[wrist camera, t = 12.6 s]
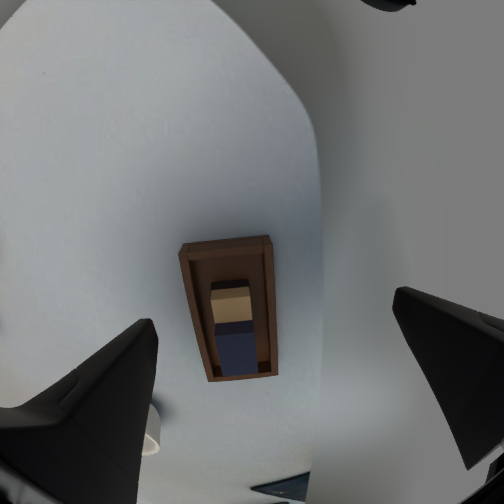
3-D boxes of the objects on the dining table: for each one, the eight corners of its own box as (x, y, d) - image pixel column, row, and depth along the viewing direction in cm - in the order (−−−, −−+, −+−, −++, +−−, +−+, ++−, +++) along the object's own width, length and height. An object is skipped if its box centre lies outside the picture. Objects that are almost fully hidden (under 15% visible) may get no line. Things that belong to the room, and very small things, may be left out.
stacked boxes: (254, 340, 22) (259, 374, 18) (222, 344, 22) (221, 378, 18) (248, 278, 20) (253, 307, 16) (210, 282, 20) (207, 312, 16)
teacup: (171, 396, 25) (165, 436, 20) (159, 427, 27) (153, 461, 22) (85, 363, 23) (67, 399, 18) (85, 399, 25) (72, 431, 20)
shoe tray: (268, 234, 19) (272, 243, 18) (275, 360, 24) (278, 375, 22) (182, 243, 19) (177, 253, 17) (209, 367, 24) (208, 382, 22)
